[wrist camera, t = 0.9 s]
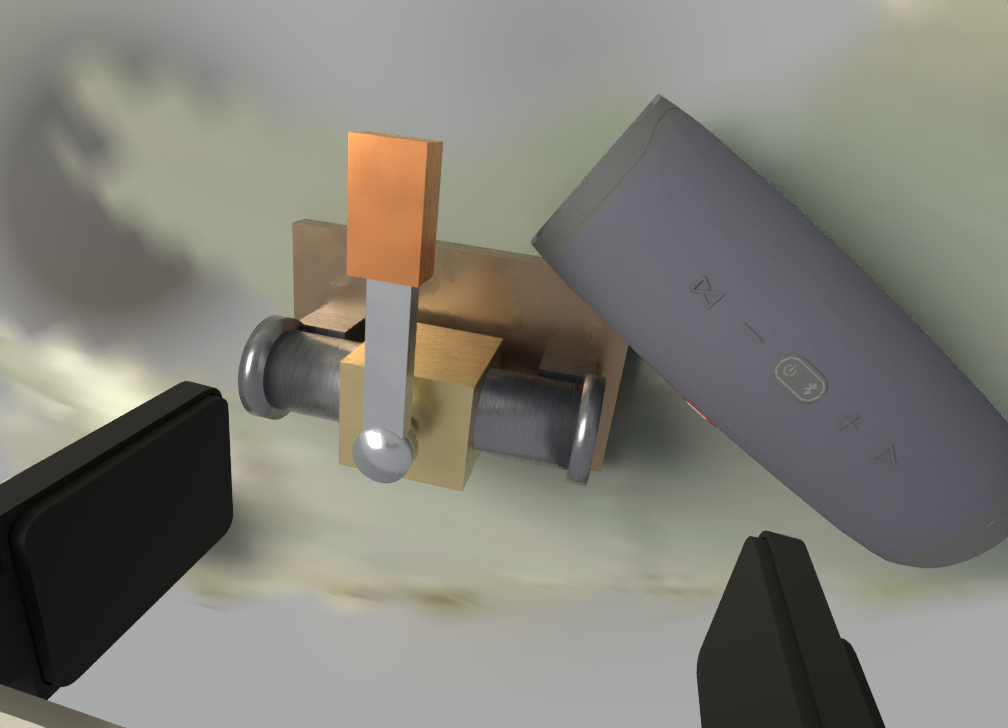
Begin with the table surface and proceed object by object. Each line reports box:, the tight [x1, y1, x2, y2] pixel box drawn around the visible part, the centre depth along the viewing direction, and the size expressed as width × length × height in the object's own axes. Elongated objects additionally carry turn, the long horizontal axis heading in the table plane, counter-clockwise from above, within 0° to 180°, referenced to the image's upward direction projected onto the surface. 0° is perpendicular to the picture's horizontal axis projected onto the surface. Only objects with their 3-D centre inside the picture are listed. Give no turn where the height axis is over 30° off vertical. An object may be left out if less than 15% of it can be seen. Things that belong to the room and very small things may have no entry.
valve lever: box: [347, 131, 443, 483], centre depth 23 cm, size 14×3×2 cm, turn 173°
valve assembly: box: [238, 219, 628, 491], centre depth 31 cm, size 20×12×11 cm, turn 83°
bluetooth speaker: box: [531, 94, 1008, 568], centre depth 27 cm, size 23×9×10 cm, turn 50°
